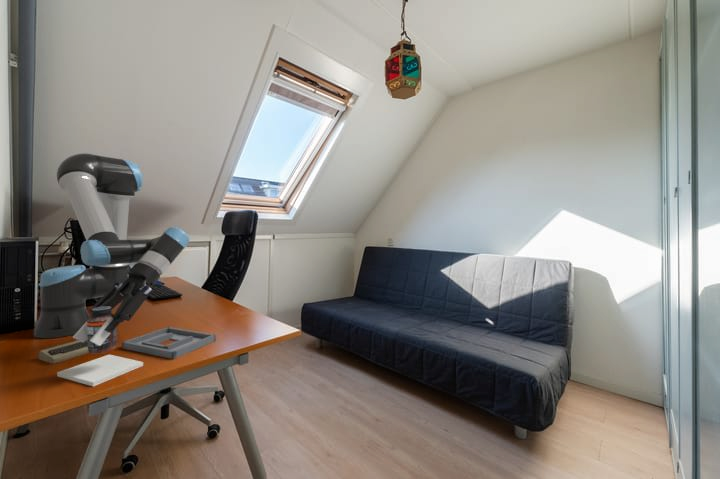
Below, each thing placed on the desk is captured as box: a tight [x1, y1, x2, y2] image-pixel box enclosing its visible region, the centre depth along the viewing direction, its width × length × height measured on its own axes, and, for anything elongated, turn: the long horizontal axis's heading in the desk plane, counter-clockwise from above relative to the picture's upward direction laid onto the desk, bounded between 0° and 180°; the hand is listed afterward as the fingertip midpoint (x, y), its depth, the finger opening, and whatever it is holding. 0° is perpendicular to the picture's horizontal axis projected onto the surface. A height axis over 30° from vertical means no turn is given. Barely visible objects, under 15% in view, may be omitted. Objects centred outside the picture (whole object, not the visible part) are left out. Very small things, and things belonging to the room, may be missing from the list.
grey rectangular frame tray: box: [121, 326, 217, 360], centre depth 100 cm, size 22×16×2 cm
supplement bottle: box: [87, 306, 118, 355], centre depth 81 cm, size 6×6×11 cm
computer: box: [38, 338, 90, 365], centre depth 93 cm, size 16×8×3 cm, turn 157°
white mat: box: [56, 354, 144, 387], centre depth 81 cm, size 14×12×1 cm
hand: (86, 341), depth 77 cm, fingers closed on supplement bottle, 6 cm apart
